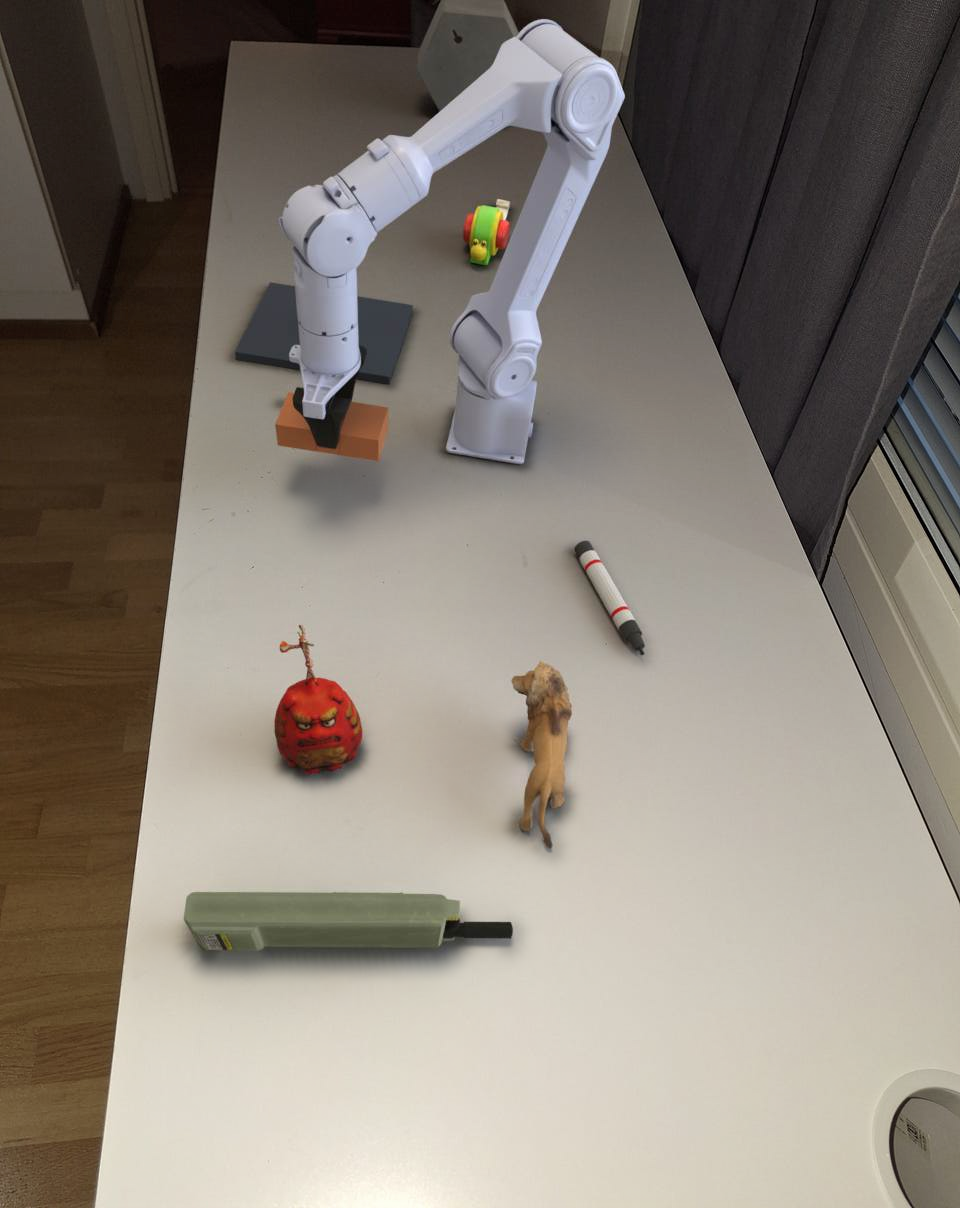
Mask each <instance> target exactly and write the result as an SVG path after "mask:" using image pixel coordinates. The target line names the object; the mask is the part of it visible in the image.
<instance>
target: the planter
mask: <svg viewBox="0 0 960 1208" xmlns="http://www.w3.org/2000/svg"><path fill="white" fill-rule="evenodd" d="M437 6H438V7H437V8H436V11H435V13H434V15H433V18H432V19H431V22H430V24H429V26H428V29H427V31H426V33H425V34H424V38H423V39H422V43H421V45H420V47H419V49H418V51H417V67H416V68H417V69H416V71H417V74H418V75H419V77H420V79H421V80H422V81H421V82H422V83H423V85H424V86H425V88H426V90H427V91H428V94H429V96H430V97H431V99H432V100H433V102H434V104H435V106H436V108H437V109H438V112H440V111H441V110H442V109H443V108H445V107H446V106H447V105H448V104H449V103H450V102H451V101H453V100H454V99H455V98H456V97H457V96H458V95H459V94H461V93H462V92H463V91H464V90H465V89H466V88H468V87H469V86H470V85H471V84H472V83H473V82H474V81H476V80H477V79H478V78H479V77H480V76H481V75H482V74H484V73H485V72H486V71H487V70H488V69H489V68H490V67H491V66H492V65H493V63H494V61H495V59H496V56H497V54H498V52H499V50H500V47H501V45H502V44H503V43H504V42H506V41H507V40H509V39H511V38H513V37H516V36H517V35H518V34H519V32H520V31H519V30H518V28H517V26H516V24H515V21H514V19H513V17H512V15H511V13H510V11H509V9H508V5H507V3H506V1H505V0H440V2H439V3H438V5H437ZM454 32H455V33H456V35H457V37H461V41H460V42H456V41H455V39H456V36H455V33H454Z"/></svg>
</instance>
